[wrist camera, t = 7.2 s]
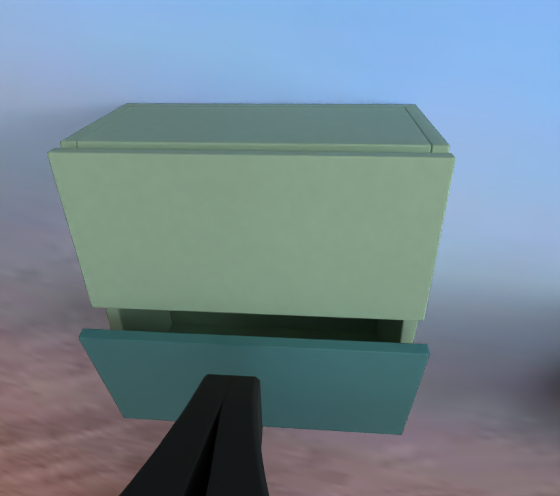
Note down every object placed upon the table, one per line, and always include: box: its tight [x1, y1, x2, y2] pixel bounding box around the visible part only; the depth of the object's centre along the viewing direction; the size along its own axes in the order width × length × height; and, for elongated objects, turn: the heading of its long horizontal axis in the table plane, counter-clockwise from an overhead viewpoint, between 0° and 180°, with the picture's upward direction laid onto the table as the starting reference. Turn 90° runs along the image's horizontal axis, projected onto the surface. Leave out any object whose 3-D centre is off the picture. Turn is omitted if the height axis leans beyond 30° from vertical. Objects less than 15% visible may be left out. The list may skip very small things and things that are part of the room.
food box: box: [47, 103, 455, 343], centre depth 17 cm, size 11×11×6 cm
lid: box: [79, 329, 430, 435], centre depth 15 cm, size 5×11×1 cm, turn 91°
